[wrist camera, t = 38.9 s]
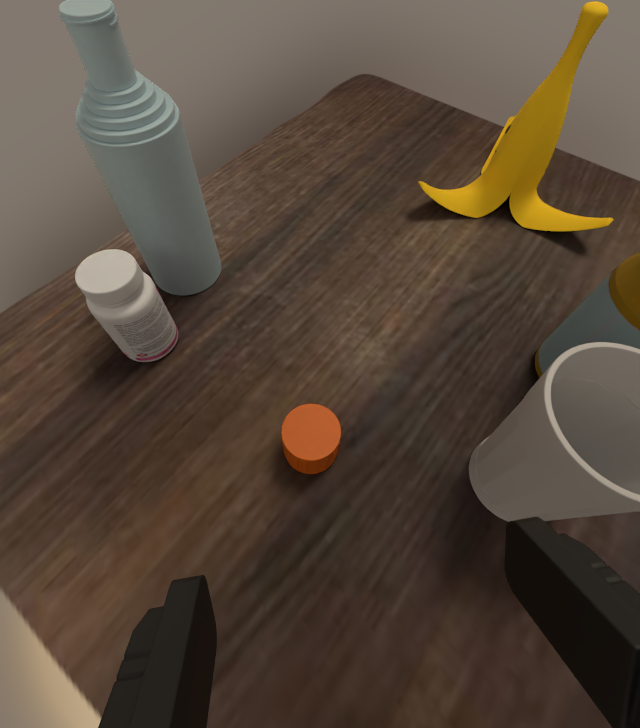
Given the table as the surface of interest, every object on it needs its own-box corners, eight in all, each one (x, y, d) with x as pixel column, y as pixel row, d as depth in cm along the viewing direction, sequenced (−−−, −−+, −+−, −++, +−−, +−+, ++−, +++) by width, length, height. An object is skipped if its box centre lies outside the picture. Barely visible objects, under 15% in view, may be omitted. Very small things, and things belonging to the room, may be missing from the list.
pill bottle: (189, 324, 34) (155, 253, 26) (163, 370, 32) (119, 306, 24) (139, 311, 34) (94, 238, 27) (111, 355, 32) (52, 288, 25)
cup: (449, 424, 30) (525, 339, 19) (551, 426, 30) (681, 343, 20) (467, 536, 26) (575, 506, 15) (584, 538, 26) (769, 509, 16)
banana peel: (407, 210, 42) (460, 12, 27) (501, 141, 49) (583, -46, 34) (544, 297, 36) (702, 107, 22) (628, 205, 43) (790, 14, 29)
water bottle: (174, 307, 35) (45, 44, 18) (141, 265, 37) (0, -2, 20) (234, 274, 37) (170, 11, 20) (199, 236, 39) (116, -28, 22)
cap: (339, 474, 28) (343, 460, 25) (283, 475, 28) (279, 461, 24) (336, 421, 30) (340, 402, 27) (283, 422, 30) (281, 403, 26)
